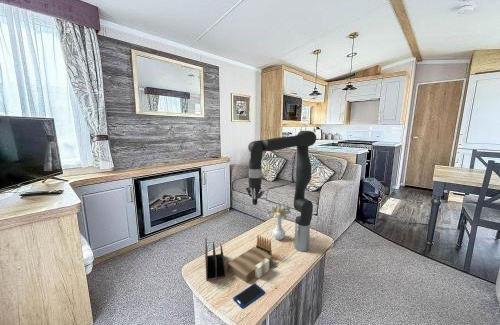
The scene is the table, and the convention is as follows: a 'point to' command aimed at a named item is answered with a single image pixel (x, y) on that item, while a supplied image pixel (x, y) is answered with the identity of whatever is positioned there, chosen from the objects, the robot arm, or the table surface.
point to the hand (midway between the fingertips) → (254, 204)
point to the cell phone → (248, 295)
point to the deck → (247, 263)
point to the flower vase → (278, 219)
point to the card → (261, 268)
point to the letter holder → (214, 264)
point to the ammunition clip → (264, 245)
